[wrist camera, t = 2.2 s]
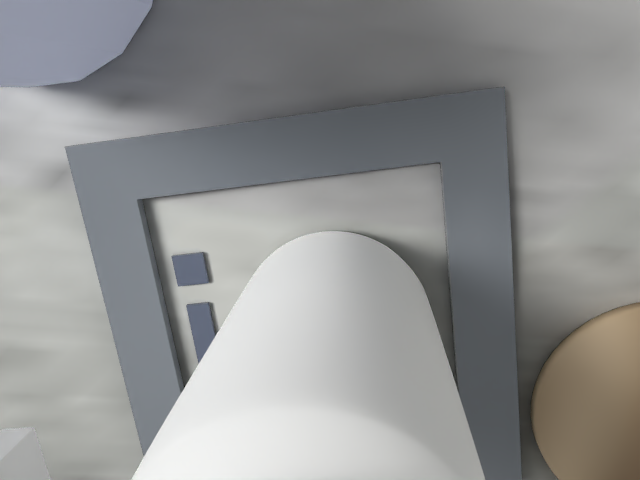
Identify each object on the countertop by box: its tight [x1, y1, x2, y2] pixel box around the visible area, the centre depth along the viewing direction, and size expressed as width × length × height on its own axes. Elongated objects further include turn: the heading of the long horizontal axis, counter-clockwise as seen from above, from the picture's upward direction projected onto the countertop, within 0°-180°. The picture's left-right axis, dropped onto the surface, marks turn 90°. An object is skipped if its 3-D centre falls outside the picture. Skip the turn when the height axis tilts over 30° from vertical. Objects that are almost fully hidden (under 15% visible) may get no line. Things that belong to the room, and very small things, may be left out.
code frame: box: [65, 87, 522, 480], centre depth 19 cm, size 14×14×1 cm
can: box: [132, 231, 485, 480], centre depth 13 cm, size 6×6×12 cm
